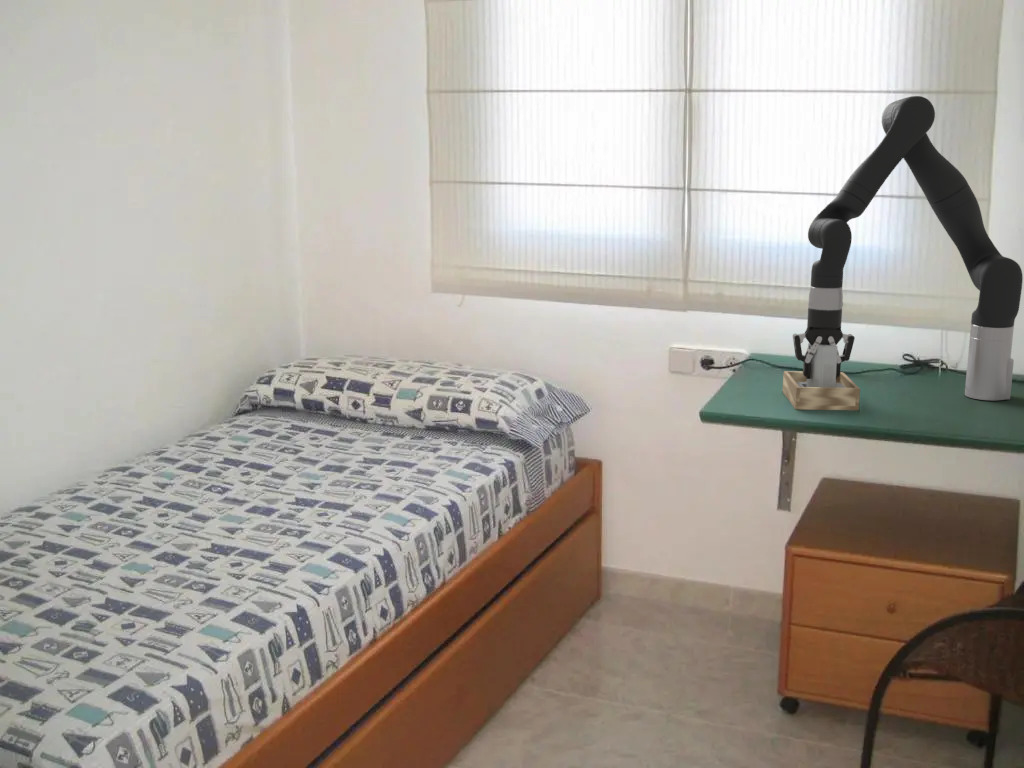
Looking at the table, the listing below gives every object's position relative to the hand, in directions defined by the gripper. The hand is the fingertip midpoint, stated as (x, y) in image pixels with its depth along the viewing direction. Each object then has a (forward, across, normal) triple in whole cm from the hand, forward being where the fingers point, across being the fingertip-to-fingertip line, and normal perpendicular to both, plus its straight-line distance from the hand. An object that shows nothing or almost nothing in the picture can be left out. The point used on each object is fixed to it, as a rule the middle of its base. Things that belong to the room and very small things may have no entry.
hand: (821, 378), depth 260 cm
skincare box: (+4, 0, 0) cm, 4 cm away
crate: (+5, 0, 0) cm, 5 cm away
